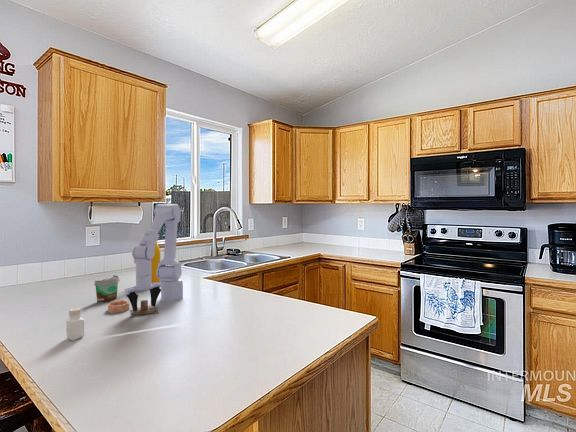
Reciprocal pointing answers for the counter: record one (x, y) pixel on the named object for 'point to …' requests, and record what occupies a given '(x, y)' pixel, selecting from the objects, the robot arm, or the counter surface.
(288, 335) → the counter surface
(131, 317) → the mat
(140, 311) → the lid
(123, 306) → the bowl
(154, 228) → the robot arm
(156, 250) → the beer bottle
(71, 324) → the salt shaker
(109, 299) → the food container
